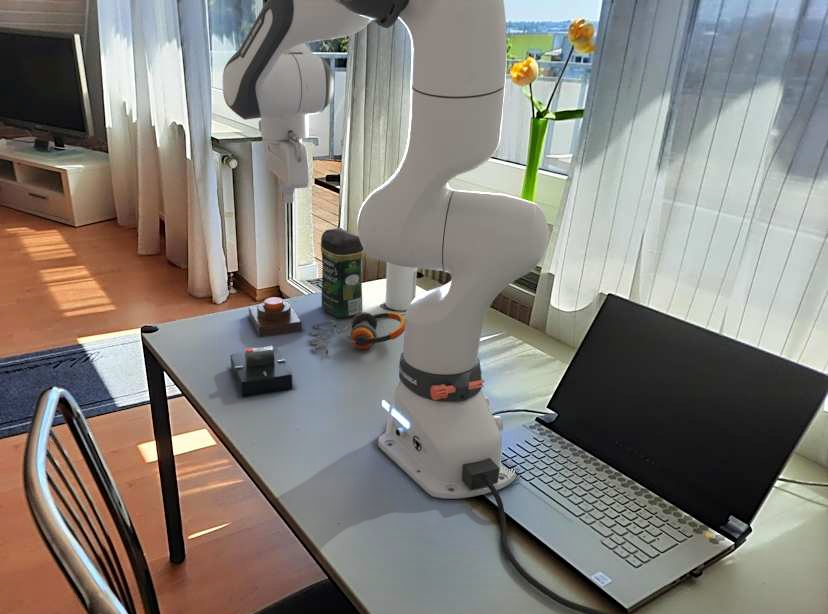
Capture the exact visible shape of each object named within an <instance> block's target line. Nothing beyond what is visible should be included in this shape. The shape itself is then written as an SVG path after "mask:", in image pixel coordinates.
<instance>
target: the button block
mask: <svg viewBox="0 0 828 614" xmlns="http://www.w3.org/2000/svg"><path fill="white" fill-rule="evenodd" d="M248 317H249V319H250V321H251V323H252V325H253V326H254V328H255V331H256V332H257V335H258V336H259V337H266V336H274V335H280V334H281V335H282V334H290V333H297V332H302V321H301V319H300V318H299V316H298V315H297V313H296V312H295V310H294V309H293V307H292V306H291V304H290V303H289V302H286V301H284V300H283V309H281V310H278V311H268V310H265V306H264V301H263V302H261V303H259V304H258V305H256V306H249V307H248Z"/></svg>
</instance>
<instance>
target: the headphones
mask: <svg viewBox="0 0 828 614" xmlns="http://www.w3.org/2000/svg"><path fill="white" fill-rule="evenodd" d="M379 319H390V320H395V321H397V322H399V323H400V324H399V325H398V327H397V328H395V329H394V330H392V331H390V332H389V333H388V334H385V335H382V336H378V332H377V328H378V322H377V320H379ZM325 322H332V323H333V324H334V325H333V332H334V334H335V335H336V336H337V337H338V338H339V339H344V340H346V341H347V342H350V343H352V344H353V345H354V347H356V348H358V349H360V350H367V349H370V348H372V347H373V346H374V345H375V344H377V343H379V344H380V343H384V342H387V341H391V340H392V341H393V340H396V339H397V338H398V337H400V336H401V335H402V334H404V332H405V316H404V315H403V314H401V313H399V312H397V311H389V312H379V313H376V314H372V313H370V312H364V311H363V312H361V313H359V314H357V315H356V316H353V319H352V320H351V324H349V325H347V326H346V327H344V328H343V329H341V330H339V329H337V324H336V322H335V320H333V319H326V320H323V321H320V322H318V323H317V324H315V328H317V329H322V330H319V331H315V332H312V333H311V334H310V335H311V336H316V335H317V338H314V339H311V340H310V342H311V343H310V344H311V345H313V346H314V345H315V346H314V348H313V349H312V350H313V352H322V351H325V356H326V357H328V354H329V350H328V349H326V348H324V347H327V346H329V345H328V344H331V343H332V340H323V339H327V338H328V336H329V335H331V331H325V330H326V328H325V327H321V326H318V325H320V324H322V323H325ZM350 326H351V331H350V338H351V340H350V339H349V338H347V337H343V336H341V335H339V334H337V332H344V331H346V330H347V328H349V327H350ZM318 348H323V349H318Z"/></svg>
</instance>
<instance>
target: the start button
mask: <svg viewBox="0 0 828 614" xmlns="http://www.w3.org/2000/svg"><path fill="white" fill-rule="evenodd" d="M283 301H284V299H283V298H281V297H276V296H272V297H267V298H265V299H264V301H263V302H264V306H265V310H268V311H278V310H281V309H283Z"/></svg>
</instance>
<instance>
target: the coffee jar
mask: <svg viewBox="0 0 828 614" xmlns="http://www.w3.org/2000/svg"><path fill="white" fill-rule="evenodd" d="M320 251H321V262H322V263H321V265H322V266H321V267H322V269H321V270H322V271H321V275H322V276H321V308H322V309H323V310H324V311H325V312H326V313H328V314H329V315H331V316H333V317H335V318H339V319H341V318H343V319H344V318H345V319H346V318H347V319H349V318H354V317H355V316H356V315H357V314H359V313H363V312H362V311H363V287H362V286H363V285H362V284H363V283H362V282H363V280H362V278H363V277H362V265H363V264H362V263H363V262H362V261H363V257H364V248H363V246H362V244H361V242H360V239H359V235H358V234H355V233H353V232H352V231H351V232H350V231H349V230H346V229H343V228H342V227H336V228H330V229H326V230H324V231H323V233H322V234H321V239H320Z"/></svg>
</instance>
